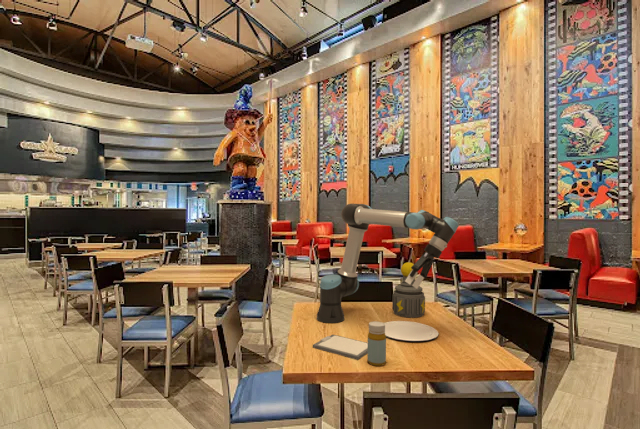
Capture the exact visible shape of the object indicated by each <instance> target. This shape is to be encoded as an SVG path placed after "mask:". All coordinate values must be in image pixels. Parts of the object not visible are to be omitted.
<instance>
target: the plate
mask: <svg viewBox="0 0 640 429" xmlns="http://www.w3.org/2000/svg"><path fill="white" fill-rule="evenodd" d="M383 323H384V324H385V335H386V338H389V339H394V340H398V341H404V342H405V341H406V342H425V341H426V342H427V341H432V340H435V339H436V338H437V337H438V336H439V331H438V330H437V329H436V328H435V327H432V326H431V325H427V324H425V323H421V322H417V321H416V322H415V321H409V320H408V321H407V320H395V321H394V320H392V321H387V322H383Z"/></svg>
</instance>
